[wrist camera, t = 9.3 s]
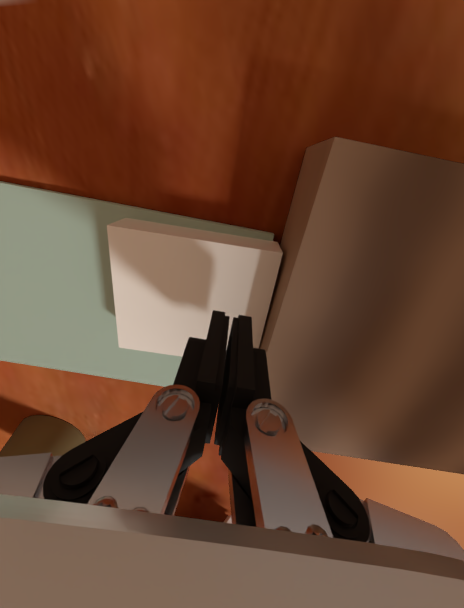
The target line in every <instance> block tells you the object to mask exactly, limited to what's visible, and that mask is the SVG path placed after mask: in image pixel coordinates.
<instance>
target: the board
mask: <svg viewBox="0 0 464 608" xmlns="http://www.w3.org/2000/svg"><path fill="white" fill-rule="evenodd" d="M280 248H281V250H282V252H283V255H282V259H281V263H280V267H279V270H278V274H277V278H276V282H275V286H274V290H273V294H272V298H271V302H270V306H269V310H268V314H267V318H266V321H265V325H264V329H263V333H262V337H261V341H260V345H259V349H264V350H265V351H266V357H267V365H268V374H269V382H270V391H271V399H272V400H273V401H276V402H278V403H279V404H281V405H282V406H283V407H285V409H286V410H287V411H288V412H289V414H290V416H291V418H292V420H293V423H294V426H295V429H296V431H297V434H298V437H299V440H300V441H301V442H302V443H303V444H304V445H305V446H306V447H307V448H308V449H309V450H310V451H316V452H322V453H329V454H335V455H341V456H349V457H354V458H361V459H368V460H375V461H381V462H388V463H394V464H400V465H407V466H414V467H420V468H427V469H433V470H440V471H446V472H453V473H460V474H464V164H463V163H458V162H453V161H449V160H444V159H439V158H434V157H430V156H425V155H420V154H415V153H411V152H406V151H401V150H396V149H392V148H387V147H382V146H377V145H373V144H368V143H363V142H358V141H354V140H349V139H344V138H339V137H333V138H330V139H328V140H325V141H322V142H320V143H317V144H315V145H312V146H309V147H307V148H306V151H305V155H304V159H303V162H302V166H301V170H300V173H299V177H298V181H297V184H296V188H295V192H294V195H293V199H292V203H291V206H290V210H289V214H288V217H287V221H286V225H285V228H284V232H283V236H282V239H281V243H280Z"/></svg>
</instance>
